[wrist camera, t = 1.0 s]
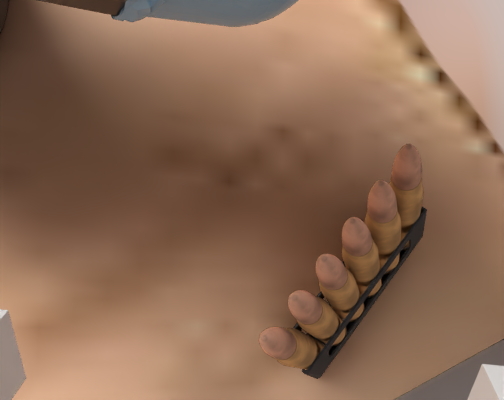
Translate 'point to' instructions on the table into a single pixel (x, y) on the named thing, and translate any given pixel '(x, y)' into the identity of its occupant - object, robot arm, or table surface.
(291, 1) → the robot arm
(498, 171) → the table surface
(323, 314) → the ammunition clip
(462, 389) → the step stand
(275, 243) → the table surface
